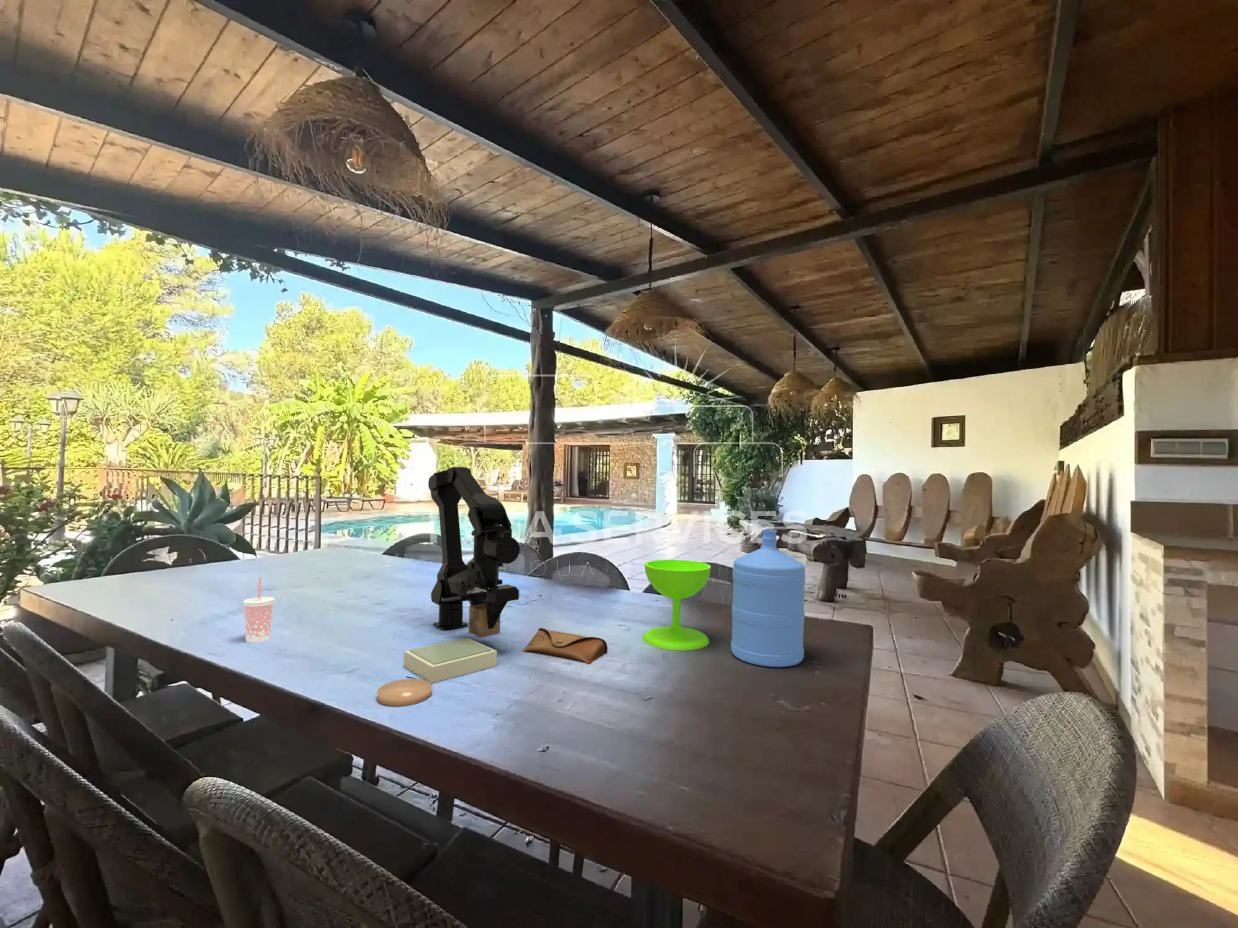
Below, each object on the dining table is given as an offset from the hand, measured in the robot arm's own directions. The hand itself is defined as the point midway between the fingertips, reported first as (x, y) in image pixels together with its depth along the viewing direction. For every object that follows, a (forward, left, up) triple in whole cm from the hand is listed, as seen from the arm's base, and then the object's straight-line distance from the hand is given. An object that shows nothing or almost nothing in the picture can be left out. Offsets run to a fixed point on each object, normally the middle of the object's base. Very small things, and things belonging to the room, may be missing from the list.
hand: (484, 625), depth 125 cm
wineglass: (+26, +37, -5) cm, 45 cm away
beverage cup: (-37, -36, -5) cm, 52 cm away
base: (+7, -12, -4) cm, 15 cm away
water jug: (+47, +43, -5) cm, 64 cm away
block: (0, 0, -2) cm, 2 cm away
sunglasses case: (+15, +11, -5) cm, 19 cm away
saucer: (+15, -25, -4) cm, 29 cm away
